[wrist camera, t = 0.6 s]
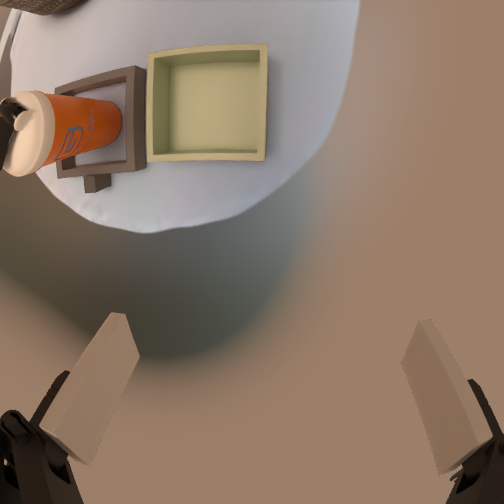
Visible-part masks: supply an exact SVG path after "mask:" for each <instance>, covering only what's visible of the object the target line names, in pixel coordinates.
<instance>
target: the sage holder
mask: <svg viewBox="0 0 504 504" xmlns="http://www.w3.org/2000/svg"><path fill="white" fill-rule="evenodd" d="M267 88H268V44H224V45H208V46H196V47H187V48H179V49H171V50H165V51H159V52H153V53H148V68H147V95H146V139H147V162H160V161H187V160H245V161H265V155H266V124H267Z"/></svg>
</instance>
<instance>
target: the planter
mask: <svg viewBox="0 0 504 504" xmlns="http://www.w3.org/2000/svg"><path fill="white" fill-rule="evenodd" d="M80 1H82V0H0V5H1V6H5V7H10V8H14V9H19V10H24V11H27V12H30V13H34V14H38V15H50V14H53V13H56V12H59V11H62V10H65V9H68V8H70V7H72V6H74V5H76V4H77V3H79V2H80Z"/></svg>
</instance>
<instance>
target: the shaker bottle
mask: <svg viewBox="0 0 504 504" xmlns="http://www.w3.org/2000/svg"><path fill="white" fill-rule="evenodd" d="M121 124H122V117H121V113H120V111H119V109H118V107H117V106H116V105H115V104H113V103H111V102H108V101H102V100H96V99H89V98H82V97H74V96H65V95H55V94H44V93H43V92H40V91H23V92H19V93H18V94H16V95H14V96H13V97H7V98H5V99H4V100H2V102H1V103H0V171H1V170H2V168H3V169H4V170H6V171H7V172H8V173H10V174H11V175H13V176H23V175H26V174H29V173H33V172H36V171H37V170H39V169H40V168H41V167H43V166H46V165H48V164H51V163H54V162H57V161H60V160H62V159H65V158H68V157H71V156H74V155H77V154H81V153H84V152H87V151H90V150H94V149H97V148H101V147H104V146H107V145H109V144H110V143H112V142H113V141H114V140H115V139H116V137H117V136H118V134H119V132H120V129H121Z"/></svg>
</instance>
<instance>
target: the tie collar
mask: <svg viewBox="0 0 504 504" xmlns="http://www.w3.org/2000/svg"><path fill="white" fill-rule="evenodd" d="M145 78H146V70H145V69H143V68H140V67H137V66H130V67H126V68H121V69H117V70H113V71H109V72H105V73H101V74H97V75H94V76H90V77H87V78H84V79H80V80H77V81H74V82H71V83H68V84H65V85H62V86H60V87H57V88H55V95H65V96H73V94H76V93H79V92H83V91H86V90H90V89H94V88H98V87H102V86H106V85H110V84H114V83H119V82H124V81H126V103H125V126H126V157H127V161H116V162H106V163H97V164H88V165H81V166H75V155H74V156H71V157H68V158H65V159H62V160H60V161H57V162H56V167H57V177H58V179H59V178H67V177H76V176H84V177H83V178H84V188H85V193H95V192H98V191H100V190H102V189H104V188H107V187H109V186H111V176H110V173H119V172H134V171H138V170H140V169H143V168H146V156H145ZM85 175H86V176H85Z"/></svg>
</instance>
